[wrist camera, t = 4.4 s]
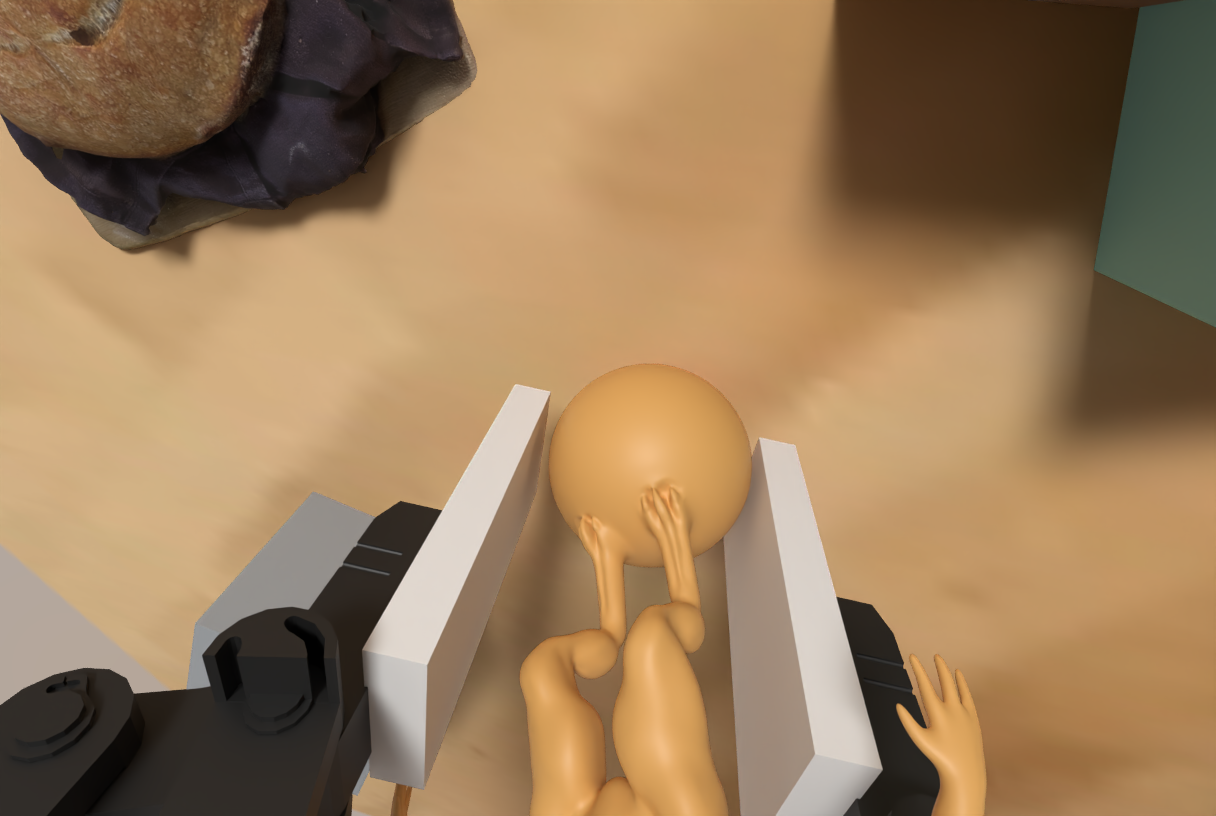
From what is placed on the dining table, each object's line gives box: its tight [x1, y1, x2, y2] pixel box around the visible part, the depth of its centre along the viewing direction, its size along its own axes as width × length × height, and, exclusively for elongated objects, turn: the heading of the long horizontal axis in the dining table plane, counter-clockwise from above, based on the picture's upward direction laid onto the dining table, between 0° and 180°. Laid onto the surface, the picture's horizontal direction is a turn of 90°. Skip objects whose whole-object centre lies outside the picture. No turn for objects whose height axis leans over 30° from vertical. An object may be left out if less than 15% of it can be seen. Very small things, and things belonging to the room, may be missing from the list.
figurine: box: [391, 364, 987, 816], centre depth 8 cm, size 8×6×12 cm
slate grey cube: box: [187, 492, 376, 796], centre depth 17 cm, size 5×5×5 cm
